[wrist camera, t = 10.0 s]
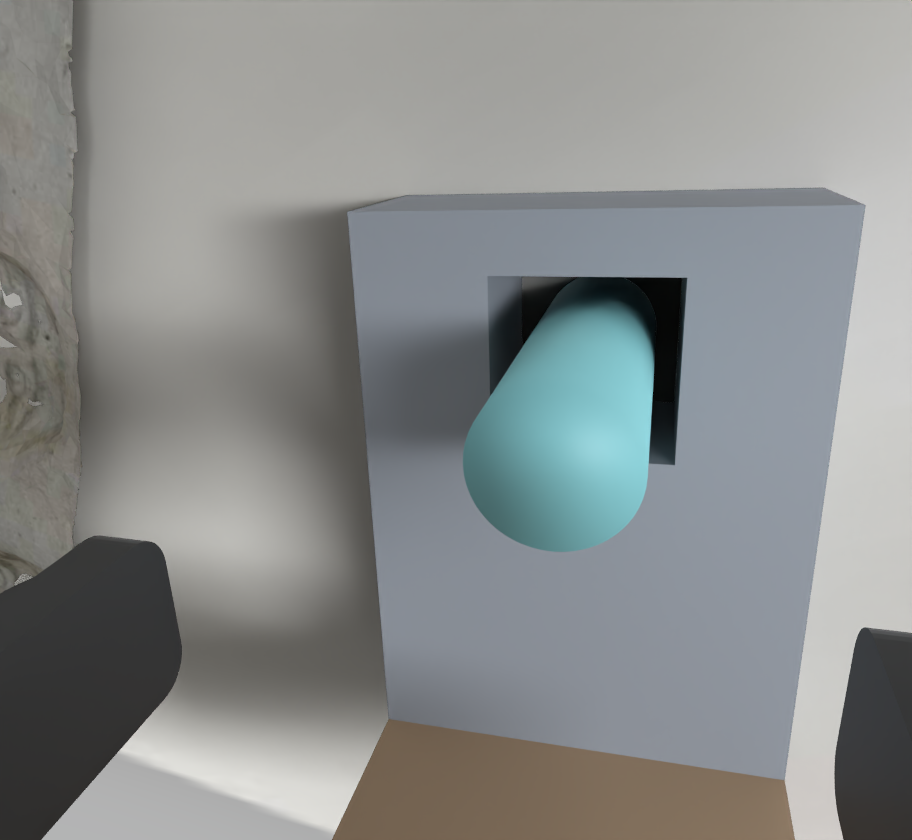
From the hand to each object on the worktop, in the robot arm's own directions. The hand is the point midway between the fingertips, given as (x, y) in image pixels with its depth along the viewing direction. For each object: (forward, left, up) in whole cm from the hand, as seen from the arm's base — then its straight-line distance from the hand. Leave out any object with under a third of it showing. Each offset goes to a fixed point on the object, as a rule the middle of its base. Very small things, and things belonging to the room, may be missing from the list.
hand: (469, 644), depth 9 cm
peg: (0, 0, -17) cm, 17 cm away
